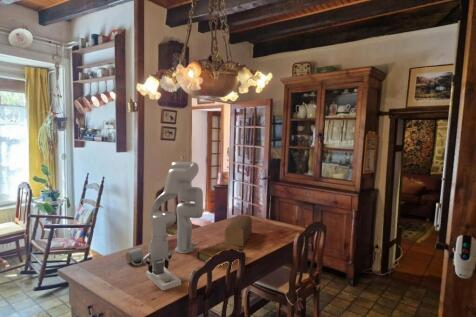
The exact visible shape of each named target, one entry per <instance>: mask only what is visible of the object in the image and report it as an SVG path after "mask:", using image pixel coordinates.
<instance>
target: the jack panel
mask: <svg viewBox="0 0 476 317" xmlns="http://www.w3.org/2000/svg"><path fill="white" fill-rule="evenodd" d="M145 276H146V278H148V279H149V280H150V281H151V282H152V283H153V284H154V285H156V286H157V287H158V288H159V289H160V290H161V291H162V290H164V291H166V289H167V290H170V289H173V288H176V287H179V286H181V285H182V279H180V278H179V277H178V276H177V275H175V274H174V273H173V272H172V271H170V270H169V269H166V268H165V267H164V273H162V274H158V275H155V274H154V273H153V272H152V273H150V272H149V271H148V270H146V272H145ZM178 285H179V286H178ZM175 286H176V287H175ZM172 287H173V288H172ZM169 288H170V289H169Z"/></svg>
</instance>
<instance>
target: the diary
mask: <svg viewBox="0 0 476 317" xmlns="http://www.w3.org/2000/svg"><path fill="white" fill-rule="evenodd" d="M228 249H235V250H239V251H242V252H243V251H245V248H243V247H241V246H234V245H231V244H228V243H225V241H222V242H219V243H217V244H213V245H211V246H208V247H205V248H202V249H199V250H197V251H196V260H199V261H201V262H204V261H206V260H208V259H209V258H210V257H212V256H213V255H215V254H216V253H218V252H220V251H223V250H228ZM225 265H227V263H225ZM225 265H224V264H223V266H225ZM220 266H221V265H220ZM221 267H222V266H221Z"/></svg>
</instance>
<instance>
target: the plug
mask: <svg viewBox="0 0 476 317" xmlns="http://www.w3.org/2000/svg"><path fill="white" fill-rule="evenodd" d="M164 261H165V259H160V260H156V261H154V262H153V273H154V274H155V275H158V274H162V273H164Z"/></svg>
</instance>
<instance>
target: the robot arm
mask: <svg viewBox="0 0 476 317" xmlns="http://www.w3.org/2000/svg"><path fill="white" fill-rule="evenodd" d="M199 169H200V168H199V164H198V163H197V162H193V161H191V162H190V161H173V162H171V165H170V169H169V170H168V173H167V175H166V180H165V183H164V187H163V192H162V193H161V194H160V195H158V196H157V198H156V199H154V201H153V202H152V205H151V208H150V211H149V215H148V216H149V223H151V240H149V244H148V250H147V254H146V255H145V256H143V262H144V263H146V264H147V271H149V272H150V273H152V272H153V269H154V265H153V264H154V261H156V260H160V259H163V260H164V267H165V268H166V269H167V270H169V266H170V260H171V258H172V256H173V255H174V252H176V253H178V254H189V253H192V252H193V251H195V246H199V242H198V241H196V242H194V241H193V223H192V220H191V219H201V218H202V217H203V214H204V213H203V212H204V192H203V189H202V188H201V187H198V186H192V182H193V180H195V178H196V176H197V175H198V173H199V171H200V170H199ZM176 197H178V199H179V200H180V201H182V202H180V203H178V204H177V205H176V208H175V212H176V213H175V212H173V211H170V210H169V211H167V210H159V208H160V207H161V205H163V204H164V203H165V202H167V201H169V200H173V199H175V198H176ZM176 220H177V222H176ZM175 223H177V230H176V233H177V235H176V236H177V237H176V240H177V242H176V243H177V244H176V247H175V248H174V251H172V250H170V249H169V242H168V239H167V238H168V237H169V234H167V227H169V226H173V225H174V224H175Z"/></svg>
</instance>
